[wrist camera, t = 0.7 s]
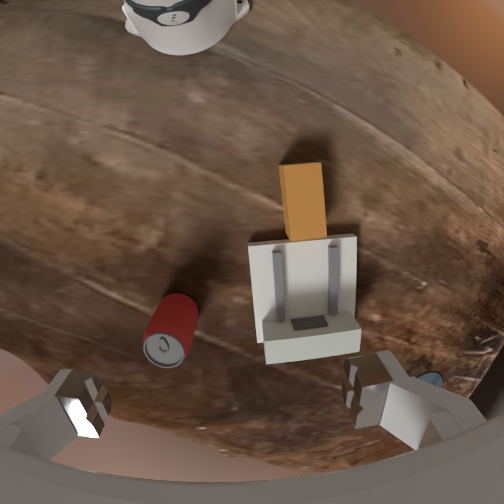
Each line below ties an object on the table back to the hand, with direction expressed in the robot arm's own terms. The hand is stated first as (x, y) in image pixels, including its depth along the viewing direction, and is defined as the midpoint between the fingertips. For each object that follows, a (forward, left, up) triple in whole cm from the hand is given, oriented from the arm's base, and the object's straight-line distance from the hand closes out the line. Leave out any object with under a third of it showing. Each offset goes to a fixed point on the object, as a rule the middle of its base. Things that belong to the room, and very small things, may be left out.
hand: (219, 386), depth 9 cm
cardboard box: (-1, +9, -38) cm, 39 cm away
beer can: (+15, -11, -38) cm, 42 cm away
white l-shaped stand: (+13, +9, -38) cm, 41 cm away
